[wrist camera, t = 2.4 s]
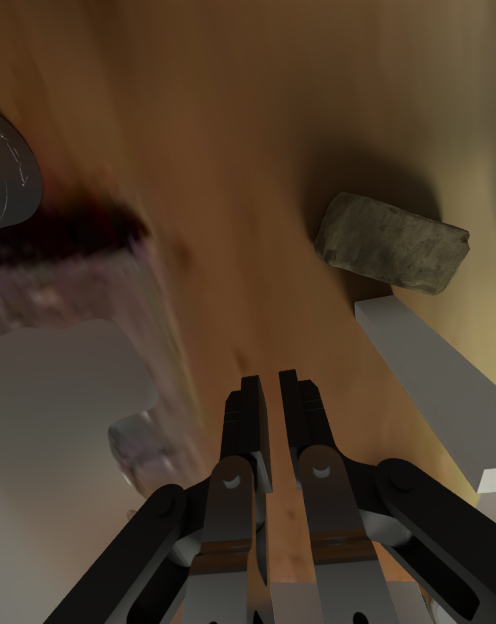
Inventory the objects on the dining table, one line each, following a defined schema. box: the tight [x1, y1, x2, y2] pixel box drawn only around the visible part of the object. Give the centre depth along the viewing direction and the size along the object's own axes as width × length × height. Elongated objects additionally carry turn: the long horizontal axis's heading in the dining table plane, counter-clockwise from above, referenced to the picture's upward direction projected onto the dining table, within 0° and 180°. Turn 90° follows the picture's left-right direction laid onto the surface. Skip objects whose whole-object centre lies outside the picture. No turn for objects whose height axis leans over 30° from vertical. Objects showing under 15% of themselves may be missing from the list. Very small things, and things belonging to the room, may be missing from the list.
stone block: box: [314, 192, 470, 295], centre depth 24 cm, size 6×12×5 cm, turn 75°
